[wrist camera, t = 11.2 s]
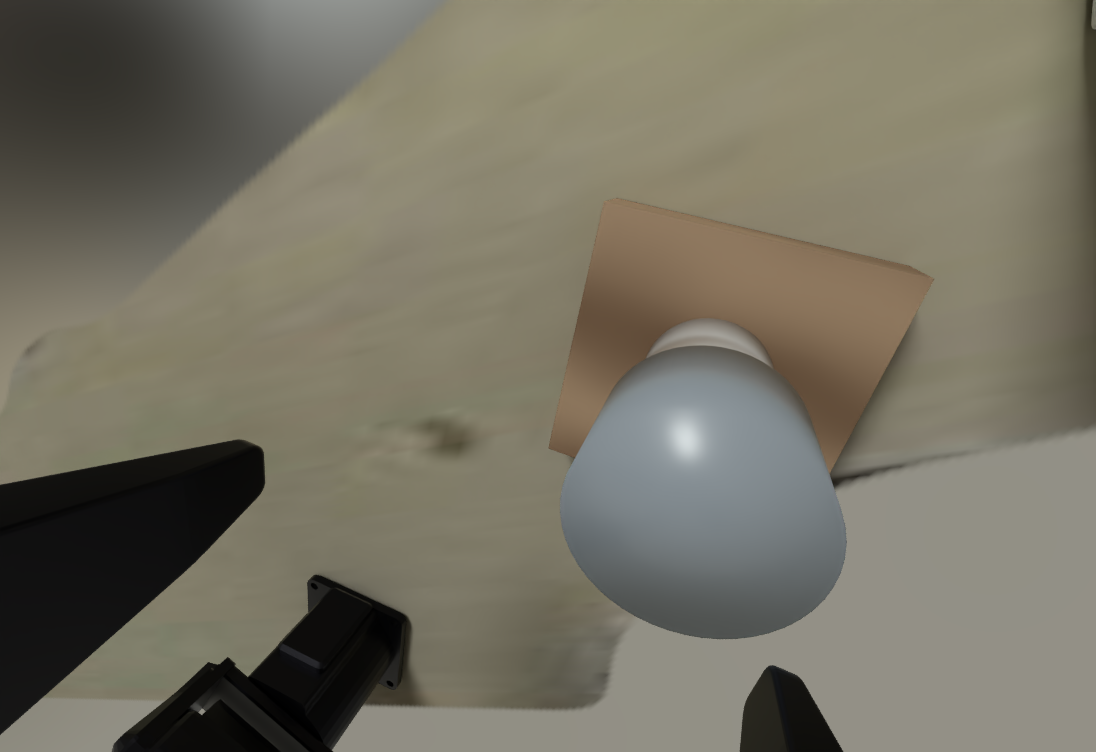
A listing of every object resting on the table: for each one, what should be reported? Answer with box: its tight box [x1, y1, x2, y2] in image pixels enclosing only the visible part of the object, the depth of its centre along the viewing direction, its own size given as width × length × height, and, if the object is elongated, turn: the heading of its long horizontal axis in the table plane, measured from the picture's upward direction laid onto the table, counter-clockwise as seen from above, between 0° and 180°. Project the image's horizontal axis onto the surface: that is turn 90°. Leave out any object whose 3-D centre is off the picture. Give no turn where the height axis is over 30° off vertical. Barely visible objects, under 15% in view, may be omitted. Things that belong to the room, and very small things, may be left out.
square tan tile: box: [549, 198, 934, 474], centre depth 15 cm, size 9×9×6 cm
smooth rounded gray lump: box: [560, 345, 847, 639], centre depth 11 cm, size 5×5×4 cm
